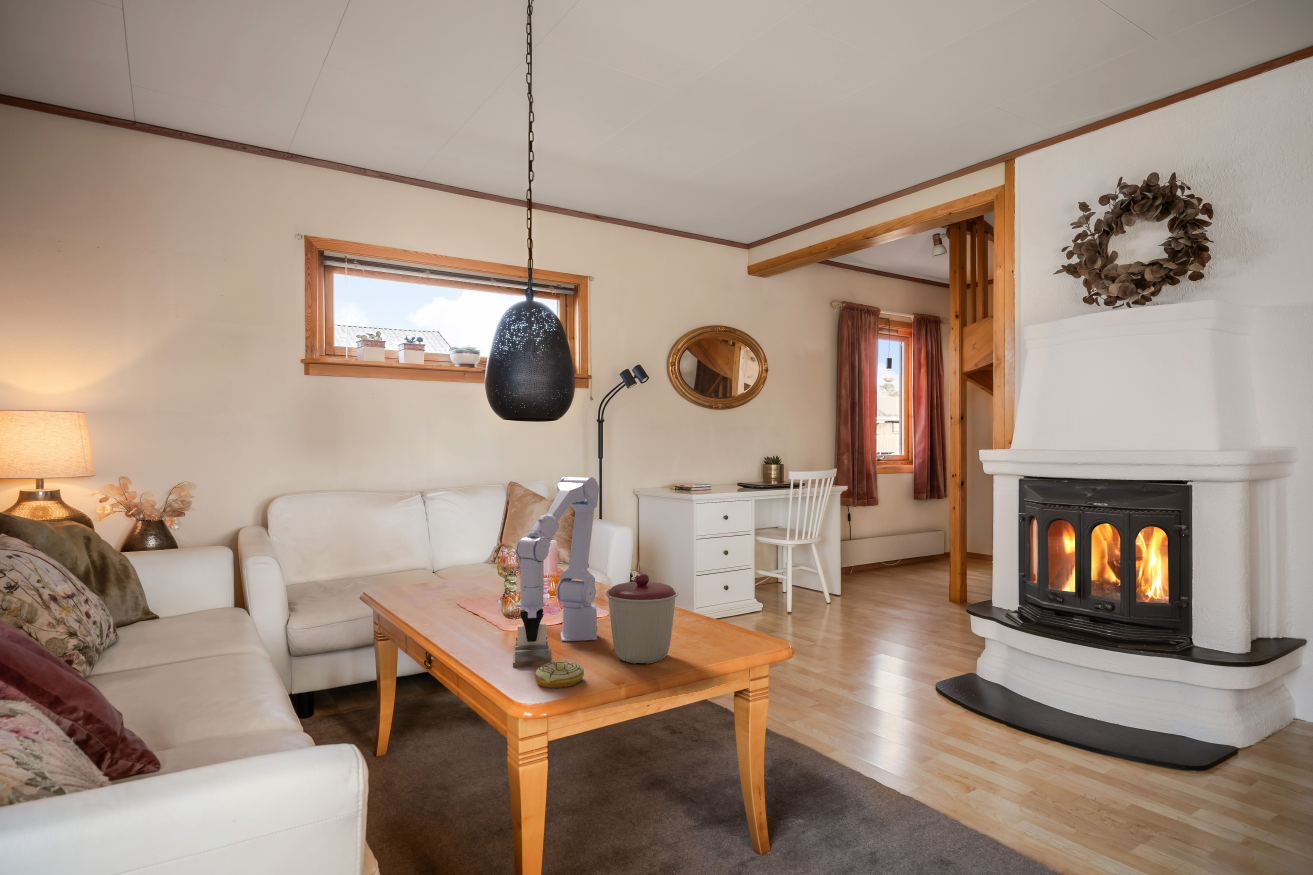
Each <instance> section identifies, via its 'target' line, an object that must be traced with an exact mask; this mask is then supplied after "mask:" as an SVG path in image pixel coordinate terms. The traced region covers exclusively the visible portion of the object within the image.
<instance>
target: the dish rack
mask: <svg viewBox="0 0 1313 875" xmlns="http://www.w3.org/2000/svg"><path fill="white" fill-rule="evenodd" d="M517 642H518V636H516V637H515V645H514V646H513V652H512V653H513V656H512V668H520V667H521V668H522V667H523V668H524V667H525V668H526V667H541V666H542V665H544V664H547V663H550V662H552V658H551V657H552V656H551V650H550V644H549V640H548V635H546V645H524V646H517Z"/></svg>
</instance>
